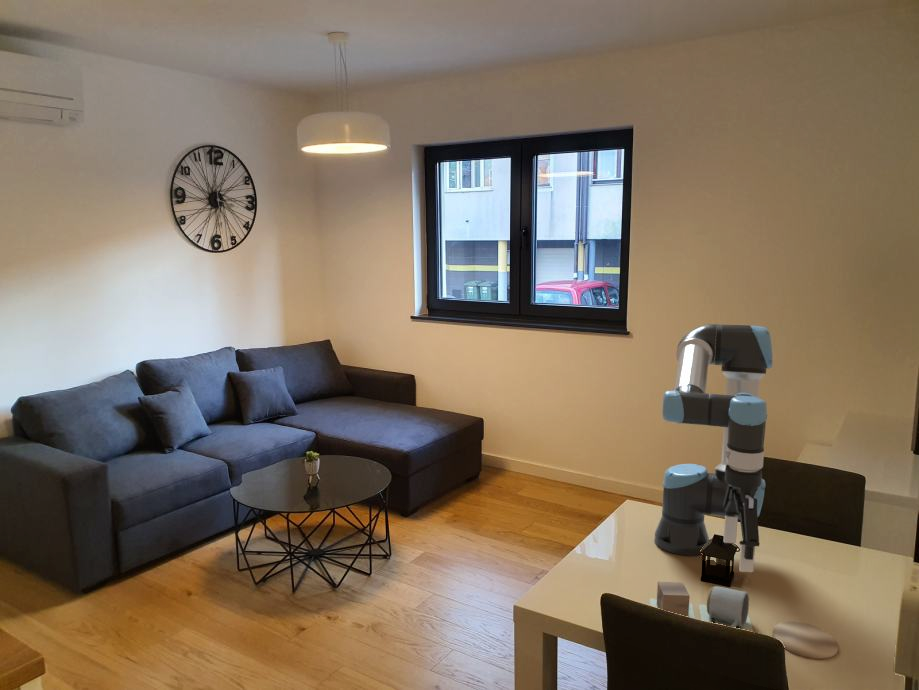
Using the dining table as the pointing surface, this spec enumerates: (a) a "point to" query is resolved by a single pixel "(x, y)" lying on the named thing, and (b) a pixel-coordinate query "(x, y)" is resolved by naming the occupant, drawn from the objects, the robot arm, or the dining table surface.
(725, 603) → the ceramic mug
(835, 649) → the coaster
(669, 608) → the walnut block
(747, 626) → the plate
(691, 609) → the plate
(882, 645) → the dining table surface
